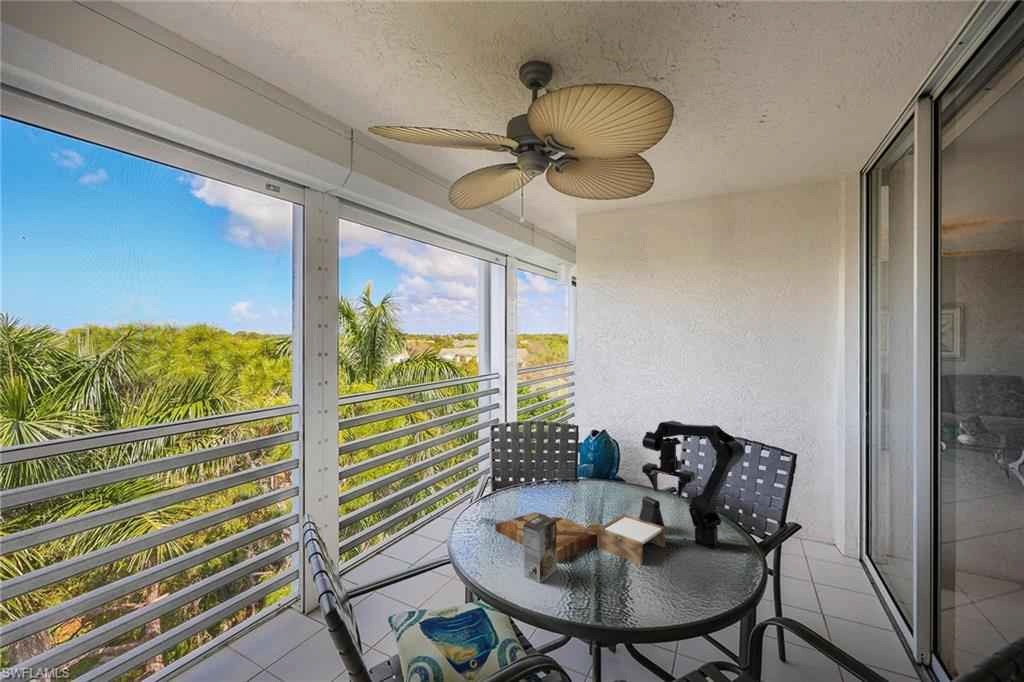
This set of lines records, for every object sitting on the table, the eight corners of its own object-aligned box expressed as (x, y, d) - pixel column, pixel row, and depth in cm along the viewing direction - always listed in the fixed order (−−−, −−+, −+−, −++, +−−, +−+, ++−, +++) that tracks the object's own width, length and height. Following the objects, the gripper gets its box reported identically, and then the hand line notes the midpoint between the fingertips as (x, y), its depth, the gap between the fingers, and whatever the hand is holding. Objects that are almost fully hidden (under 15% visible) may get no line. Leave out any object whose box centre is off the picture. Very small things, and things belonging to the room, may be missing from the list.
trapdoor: (661, 536, 151) (661, 528, 151) (641, 550, 141) (641, 542, 141) (625, 524, 160) (625, 516, 160) (604, 537, 150) (604, 528, 150)
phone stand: (653, 524, 169) (653, 493, 169) (665, 530, 163) (665, 499, 163) (636, 529, 165) (636, 497, 165) (647, 536, 159) (647, 503, 159)
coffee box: (540, 564, 140) (540, 514, 139) (557, 571, 135) (557, 519, 135) (522, 576, 133) (522, 523, 132) (540, 584, 128) (540, 529, 128)
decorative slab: (599, 545, 153) (599, 531, 153) (554, 565, 139) (554, 550, 139) (537, 516, 178) (536, 504, 178) (494, 531, 165) (494, 518, 165)
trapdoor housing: (665, 545, 152) (665, 527, 152) (640, 565, 139) (640, 544, 139) (623, 531, 163) (623, 514, 163) (597, 547, 150) (597, 529, 150)
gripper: (700, 454, 167) (700, 494, 167) (653, 446, 179) (653, 483, 179) (690, 460, 159) (689, 503, 159) (641, 451, 171) (641, 491, 171)
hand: (667, 494), depth 167 cm, fingers open, 9 cm apart
